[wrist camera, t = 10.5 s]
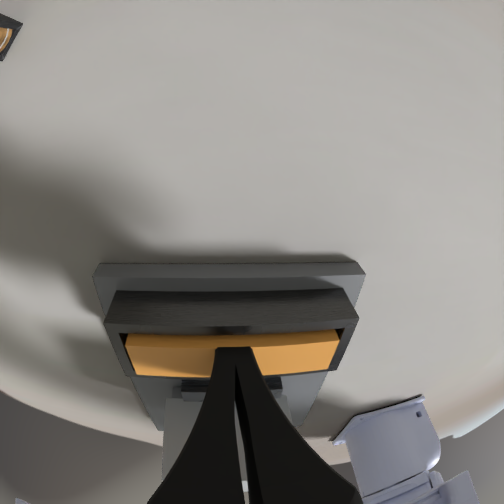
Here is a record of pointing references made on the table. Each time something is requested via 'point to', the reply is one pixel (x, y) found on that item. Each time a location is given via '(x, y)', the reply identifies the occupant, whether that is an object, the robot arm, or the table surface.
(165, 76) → the table surface
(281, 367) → the locking tab
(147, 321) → the gray slotted fixture
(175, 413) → the block
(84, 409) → the table surface
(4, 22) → the ammunition clip
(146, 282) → the mounting board
